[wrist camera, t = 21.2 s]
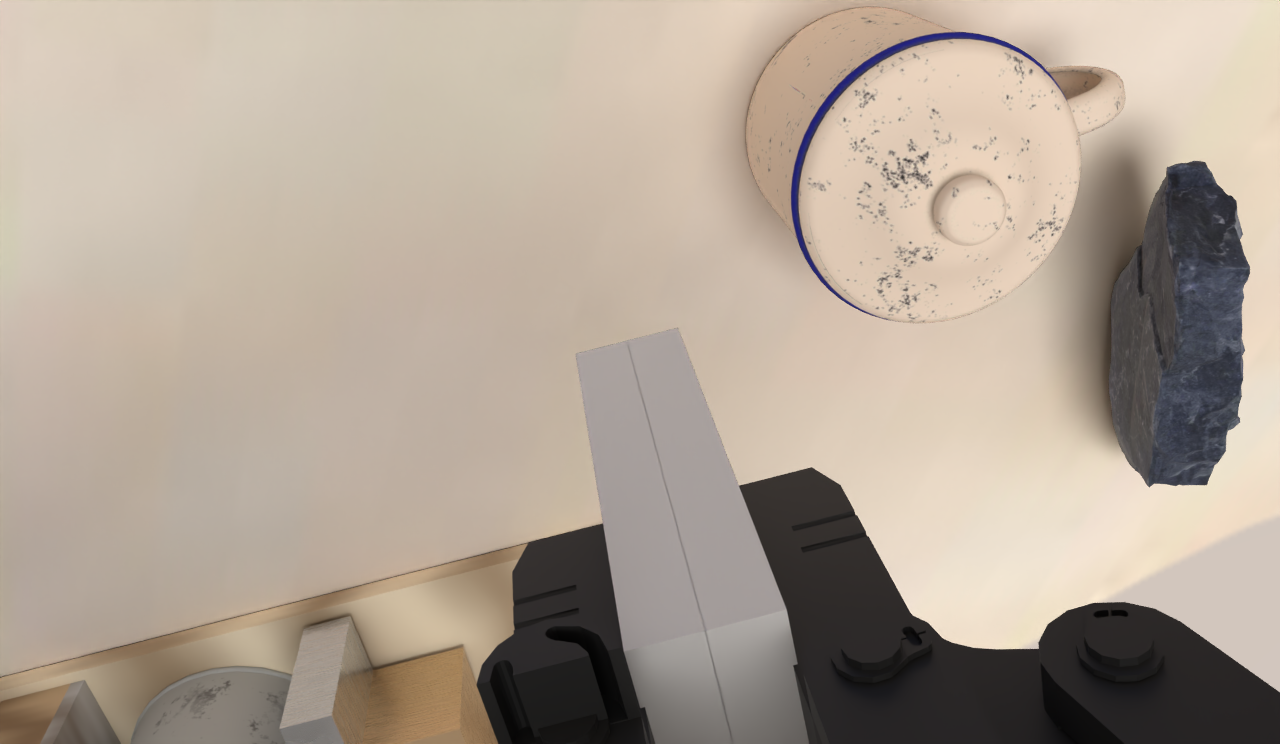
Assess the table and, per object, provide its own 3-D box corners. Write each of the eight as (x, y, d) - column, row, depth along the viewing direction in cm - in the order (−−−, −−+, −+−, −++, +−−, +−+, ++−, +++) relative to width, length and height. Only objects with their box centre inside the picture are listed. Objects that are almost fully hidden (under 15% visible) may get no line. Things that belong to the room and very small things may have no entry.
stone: (1218, 394, 49) (1381, 515, 40) (1091, 458, 50) (1223, 592, 41) (1126, 118, 43) (1292, 188, 34) (984, 195, 44) (1111, 283, 35)
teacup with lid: (773, 272, 44) (860, 403, 34) (707, 48, 40) (782, 117, 30) (1063, 170, 44) (1243, 270, 33) (1025, -66, 40) (1215, -37, 29)
